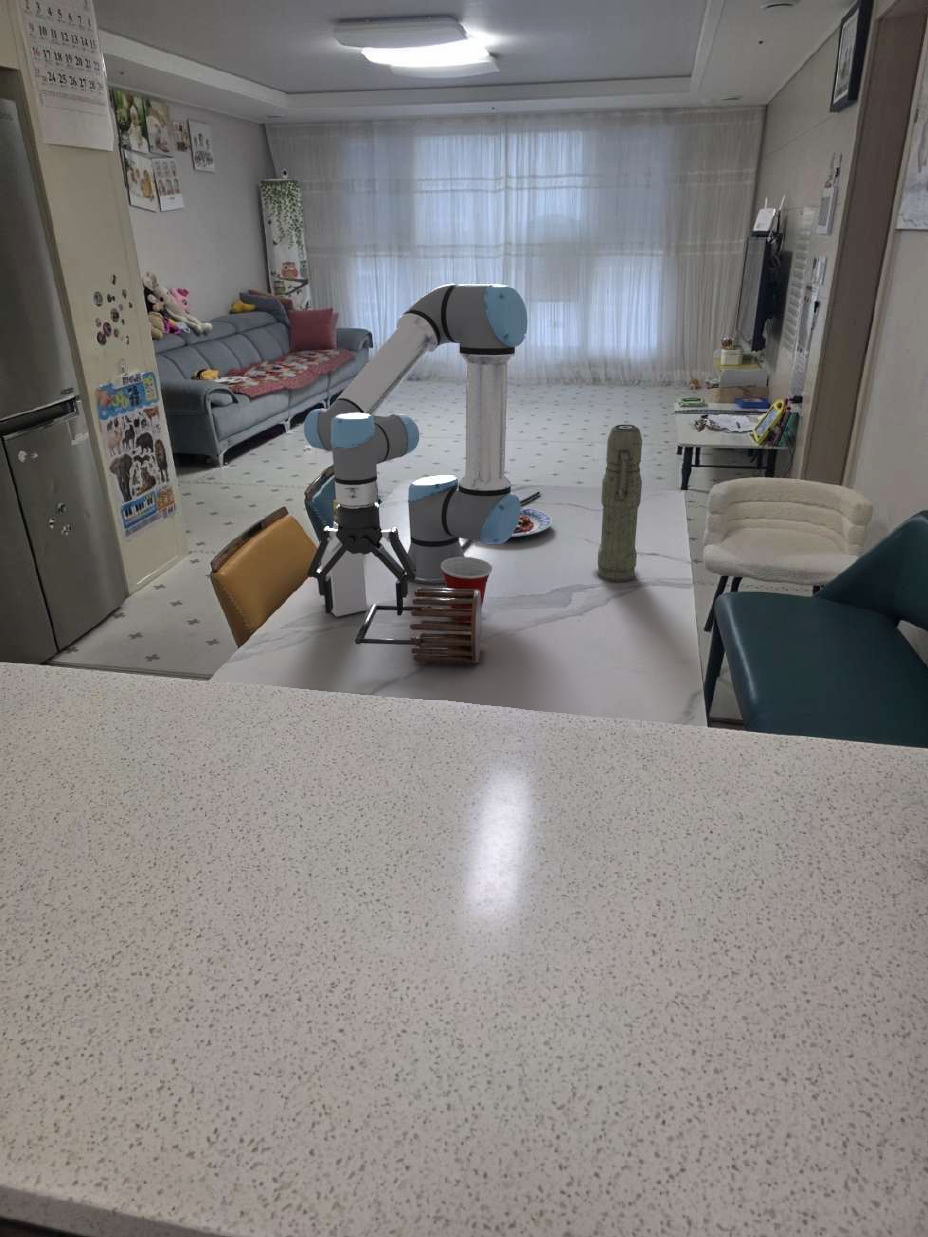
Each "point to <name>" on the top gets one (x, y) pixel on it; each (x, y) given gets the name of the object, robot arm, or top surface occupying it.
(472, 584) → the plastic cup
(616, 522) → the thermos
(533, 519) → the ceramic plate
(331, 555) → the milk carton
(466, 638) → the basket
